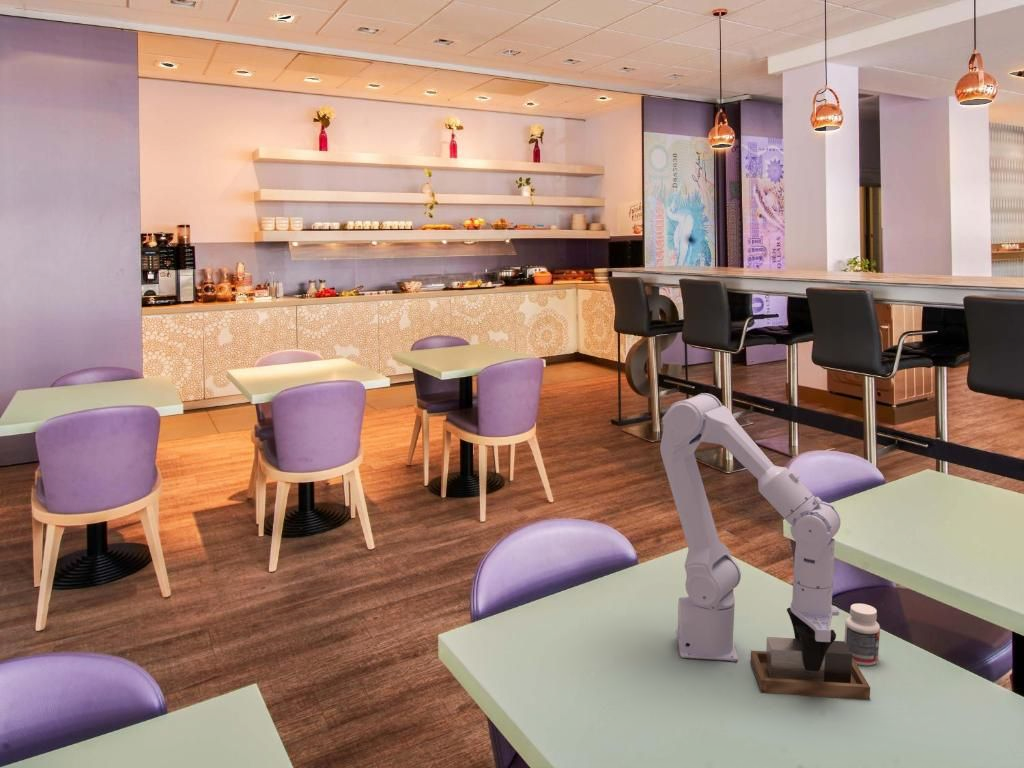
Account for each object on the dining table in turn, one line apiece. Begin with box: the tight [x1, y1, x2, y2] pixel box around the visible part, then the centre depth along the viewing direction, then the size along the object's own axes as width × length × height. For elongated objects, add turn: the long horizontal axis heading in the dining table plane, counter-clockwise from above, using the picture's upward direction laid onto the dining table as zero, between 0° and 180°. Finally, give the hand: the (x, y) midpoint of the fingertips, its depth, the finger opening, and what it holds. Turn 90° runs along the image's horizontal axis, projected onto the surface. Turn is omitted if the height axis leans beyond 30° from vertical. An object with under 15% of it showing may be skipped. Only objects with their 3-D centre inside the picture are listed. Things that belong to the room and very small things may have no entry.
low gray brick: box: [765, 636, 853, 683], centre depth 117 cm, size 12×4×5 cm, turn 82°
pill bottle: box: [843, 603, 881, 667], centre depth 123 cm, size 5×5×9 cm
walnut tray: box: [749, 650, 871, 701], centre depth 117 cm, size 16×9×2 cm, turn 82°
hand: (808, 661), depth 117 cm, fingers closed on low gray brick, 4 cm apart
